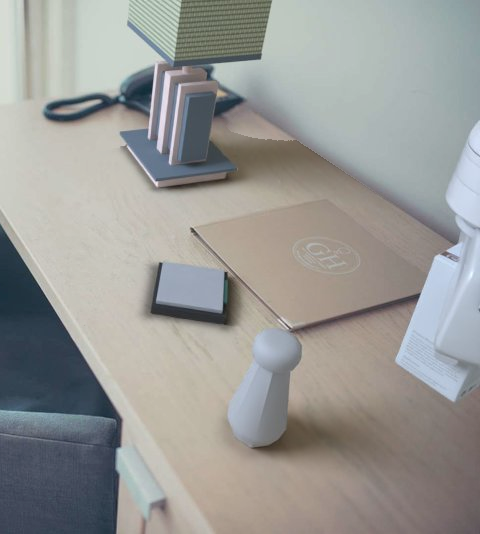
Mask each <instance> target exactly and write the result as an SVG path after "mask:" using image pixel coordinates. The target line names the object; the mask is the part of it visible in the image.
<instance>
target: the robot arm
mask: <svg viewBox="0 0 480 534" xmlns="http://www.w3.org/2000/svg"><path fill="white" fill-rule="evenodd" d="M445 201H446V203H447V205H448V206H449V208H450V209H451V210H452V211H453V212H454V213H455V217H454V219H455V223H456V225H457V227H458V228H459V229H460V234H459V236H458V237H459V238H458V242H457V244H459V243H461V242H462V246H461V251H460V255H459V259H458V263H457V267H456V269H455V271H454V273H453V275H452V277H451V279H450V281H449V283H448V286H447V290H446V294H445V298H444V302H443V306H442V310H441V314H440V318H439V322H438V326H437V330H436V334H435V339H434V344H433V347H434V350H435V352H434V358H435V359H436V360H438V361H441V362H444V363H447V364H450V365H456V364H458V363H459V361H460V362H463V363H466V364H469V365H472V366H476V367H480V119H479V120H478V121H477V122H476V123H475V125H474V126H473V128H472V129H471V130H470V132H469V134H468V137H467V139H466V142H465V144H464V146H463V149H462V151H461V154H460V155H459V158H458V161H457V164H456V165H455V169H454V170H453V173H452V176H451V178H450V181H449V183H448V186H447V188H446V191H445Z"/></svg>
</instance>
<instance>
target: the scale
mask: <svg viewBox="0 0 480 534" xmlns="http://www.w3.org/2000/svg"><path fill="white" fill-rule="evenodd" d="M228 276H229V272H228V271H225V269H219V268H212V267H205V266H198V265H190V264H184V263H178V262H170V261H162V262H160V261H159V262H158V267H157V271H156V278H155V283H154V289H153V293H152V300H151V306H150V314H153V315H154V314H155V315H161V316H167V317H174V318H181V319H186V320H194V321H200V322H205V323H206V322H207V323H213V324H219V325H225V323H226V321H227V320H226V319H227V306H228V305H227V304H228V292H229V291H228V288H229V279H228V278H229V277H228Z"/></svg>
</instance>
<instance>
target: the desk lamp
mask: <svg viewBox="0 0 480 534" xmlns="http://www.w3.org/2000/svg"><path fill="white" fill-rule="evenodd" d="M272 4H273V0H129V3H128V15H127V24H126V25H127V26H126V27H128V28H129V29H131V30H132V31H133V32H134V33H135V34H136V35H137V36H138V37H139V38H140V39H141V40H142V41H143V42H144V43H146V44H147V45H148V46H149V47H150V48H151V49H152V50H153V51H154V52H155V53H157V54H158V55H159V56H160V57H161V58H162V59H164V60H161V61H159V60H158V61H155V62H154V63H155V64H154V71H153V72H154V73H153V81H152V82H153V83H152V90H151V91H152V92H151V101H150V111H149V120H148V121H149V123H148V127H147V128H139V129H131V130H123V131H119V136H120V137H121V139H122V140H123V141H124V142H125V144H126V148H127V149H128V150H129V151H130V153H131V154H132V156H133V157H134V159H135V160H136V161H137V162H138V164H139V165H140V167H141V168H142V169H143V171H144V172H145V173H146V174H147V176H148V177H149V178H150V180H151V181H152V182H153V184H154V185H155V187H156V188H157V189H159V188H166V187H173V186H178V185H179V186H180V185H188V184H193V183H201V182H209V181H210V182H211V181H216V180H224V179H226V175H227V173H229V172H237V171H238V167H237V166H236V165H235V164H234V162H233V161H231V159H229V157H228V156H227V155H225V153H224V152H222V150H221V149H220V148H219V147H218V146H217V145H216V144H215V143H214V142H213V141H212V140H211V134H212V127H213V121H214V115H215V109H216V103H217V97H218V92H219V84H220V82H219V81H218V80H216V79H214V80H207V78H208V72H207V71H206V70H205V69H204V68H202V67H196V68H193V67H194V66H202V65H204V66H205V65H214V64H215V65H216V64H225V63H237V62H238V63H239V62H248V61H259V60H262V56H263V53H262V52H263V47H264V43H265V37H266V32H267V27H268V23H269V19H270V13H271V8H272Z"/></svg>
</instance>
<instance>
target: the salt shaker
mask: <svg viewBox="0 0 480 534" xmlns="http://www.w3.org/2000/svg"><path fill="white" fill-rule="evenodd" d="M251 354H252V357H253V361H252V362H251V364H250V366H249V367H248V369H247V371H246V373H245V375H244V377H243V378H242V380H241V381H240V384H239V386H238V387H237V389H236V391H235V392H234V394H233V396H232V397H231V400H230V401H229V403H228V407H227V420H228V422H229V425H230V428H231V430H232V433H233V437H234V438H235V439H236V440H238V441H239V442H241V443H242V444H244V445H246V446H247V447H249V448H250V449H254V448H260V447H267V446H270V445H271V444H273V443H275V442H277V441H278V440H280V438H281V436H283V434H284V432H285V431H286V430H287V427H288V426H287V425H288V413H289V412H288V411H289V400H290V399H289V398H290V385H291V384H290V383H291V372H292V371H294V370H295V369H296V368H297V366H298V365H299V364H300V362H301V360H302V358H303V357H302V354H303V344H302V343H301V341H300V340H299V338H298V337H297V336H296V335H294V334H293V333H292V332H291V331H289V330H286V329H283V328H281V327H280V328H278V327H269V328H266V329H263V330H260V332H259V333H258V334H257V335H255V337H254V339H253V343H252V349H251Z"/></svg>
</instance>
